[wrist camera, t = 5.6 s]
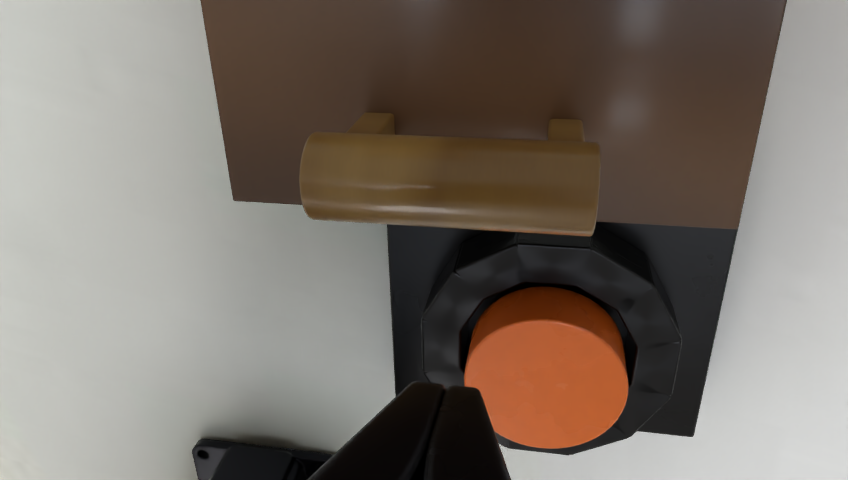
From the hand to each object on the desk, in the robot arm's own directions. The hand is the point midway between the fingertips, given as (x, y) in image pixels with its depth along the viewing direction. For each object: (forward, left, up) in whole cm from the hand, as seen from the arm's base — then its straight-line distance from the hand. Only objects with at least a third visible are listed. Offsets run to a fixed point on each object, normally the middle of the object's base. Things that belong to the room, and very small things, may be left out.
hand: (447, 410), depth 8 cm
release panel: (-6, -1, -13) cm, 14 cm away
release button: (-6, -1, -10) cm, 12 cm away
